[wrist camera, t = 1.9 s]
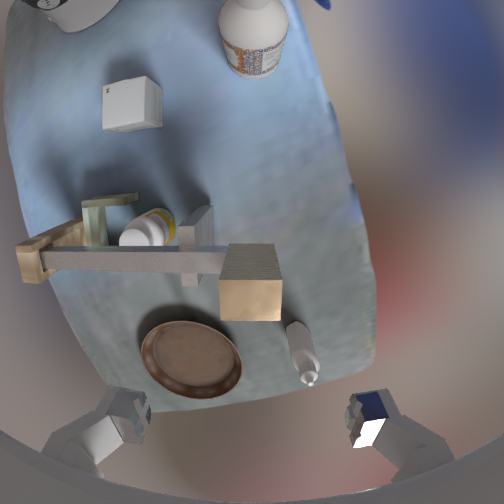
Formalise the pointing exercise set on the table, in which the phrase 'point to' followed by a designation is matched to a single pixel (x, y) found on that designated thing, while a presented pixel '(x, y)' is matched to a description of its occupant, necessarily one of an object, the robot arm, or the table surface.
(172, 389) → the plant saucer
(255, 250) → the rod with square block
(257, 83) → the table surface
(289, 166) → the table surface
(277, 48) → the bath foam
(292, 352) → the eye dropper bottle
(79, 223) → the frame
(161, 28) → the table surface
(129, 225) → the supplement bottle
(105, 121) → the product box
